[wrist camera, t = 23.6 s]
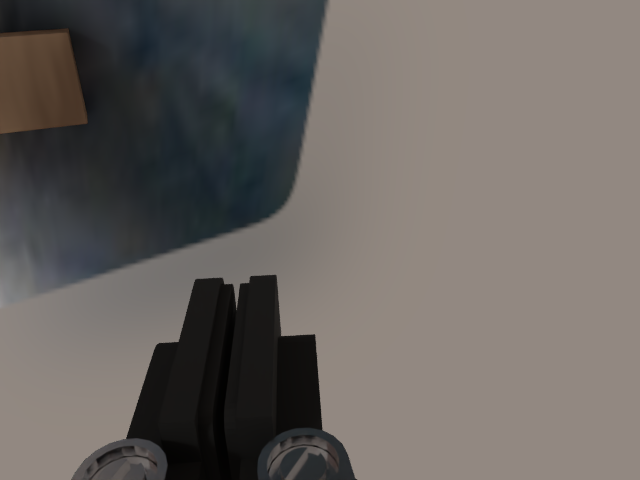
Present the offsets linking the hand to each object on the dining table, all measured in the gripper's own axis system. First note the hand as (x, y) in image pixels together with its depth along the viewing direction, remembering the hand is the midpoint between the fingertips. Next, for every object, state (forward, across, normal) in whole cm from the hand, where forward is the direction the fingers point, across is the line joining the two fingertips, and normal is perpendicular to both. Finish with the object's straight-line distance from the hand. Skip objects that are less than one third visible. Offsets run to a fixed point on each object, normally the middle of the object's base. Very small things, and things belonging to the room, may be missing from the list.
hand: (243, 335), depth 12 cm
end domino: (+24, +11, -1) cm, 27 cm away
